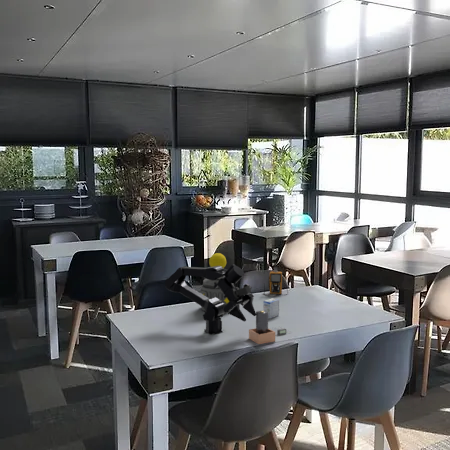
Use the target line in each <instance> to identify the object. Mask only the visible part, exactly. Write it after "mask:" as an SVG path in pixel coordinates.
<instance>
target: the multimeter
mask: <svg viewBox="0 0 450 450" xmlns="http://www.w3.org/2000/svg"><path fill="white" fill-rule="evenodd" d="M269 262H270V260H269V261H268V262H266V263H265V266H264V271H263V273H266V271H265V270H266V267H267V265H268V263H269ZM271 262H273V263H274V261H273V260H271ZM278 262H281V264H282V266H283V267H285V265H284V263H283V262H282V261H281V260H277V262H276V263H278ZM284 274H285V271H283V272H282V271H278V266H275V269H274V271H270V272H269V275H268V280H269V282H268V290H269V294H268V293H265V292H266V288H265V287H266V286H265V284H263V289H264V291H263V294H264V295H265V296H270V297H276V296H278V295H280V296H282V293H283V292H282V291H283V290H282V289H283V282H284V284H285V288H286V292H287V294H285V296H287V295H288V293H289V290H288V287H287V285H286V281H285V279H284Z"/></svg>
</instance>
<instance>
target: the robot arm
mask: <svg viewBox="0 0 450 450" xmlns="http://www.w3.org/2000/svg"><path fill="white" fill-rule="evenodd" d="M244 275H245V272H244V270H243V268H241V267H239V266H238V265H236V264H231V265H230V267H229V268H228V269H226V268H224V269H223V268H222V267H221V266H214V267H211V266H208V267H197V266H186V265H185V266H179V267H178V268H177V269H176V271H174V272H173V273H172V274H171V275H170V276H169V277H168V278H166V279H165V281H164V285H165V288H166V290H168V291H170V292H173V293H177V294H178V293H179V294H181V295H183V296H184V297H186V298H187V299H189V300H190V301H192V302H195V303H196V304H197V305H199V306H200V307H201V306H202V307H203V308H204V309H205V311H204V313H203V315H202V316H203V317H202V318H203V320H204V321H205V329H204V332H206V333H207V334H209V335H215V334H221V333H224V332H223V320H222V317H223V316H224V314H227V315H231V316H232V317H235V318H237V319H238V320H240V321H242V322H246V321H247V318H246V316H245V315H244V314H243V312H242V310H241V309H240V305H241V306H242V308H243V309H244V310H245V311H247V312H248V313H249V314H250V315H251V316H252V317H256V312H257V311H255V308H254V304H253V301H254V297H255V296H254V294H253V293H252V286H251V284H249V283H245V284H243V287H242V288H239V287H238V286H235V284H237V283H238V282H239V281H240V280H241V278H243V277H244ZM223 276H225V277H224V278H222V277H223ZM187 277H201V278H204V279H209V280H217V279H220V278H221V279H220V280H219V281H218V282H214V289H215V288H218V287H219V288H220V290H221V291H222V292H223V294H224V295H225V296H224V298H227V299H228V300H229V302H228V303H227V304H226V305H225V304H224V303H223V301H221V300H219V299H218V298H216V297H215V298H212V299H209V298H207V297H206V296H204V295H202V294H201V292H200V291H197V290H196V289H195V288H192V287H191V286H189V285H188V284H187V283H186V281H185V280H186V278H187ZM202 307H201V308H202Z"/></svg>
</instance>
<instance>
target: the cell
mask: <svg viewBox="0 0 450 450" xmlns="http://www.w3.org/2000/svg"><path fill="white" fill-rule="evenodd" d="M255 312H256V316H255V328H256V333H258V334H264V333H268V328H269V318H268V312H267V311H263V310H257V311H255Z"/></svg>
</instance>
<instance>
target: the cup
mask: <svg viewBox="0 0 450 450" xmlns="http://www.w3.org/2000/svg"><path fill="white" fill-rule="evenodd" d="M248 340H251V341H253V342H254V343H256V344H257V345H261V344H267V343H273V342H276V336H275V332H274V331H272V330H271V329H269V327H268V333H264V334H258V333H256V327H255V328H250V329H248Z"/></svg>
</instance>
